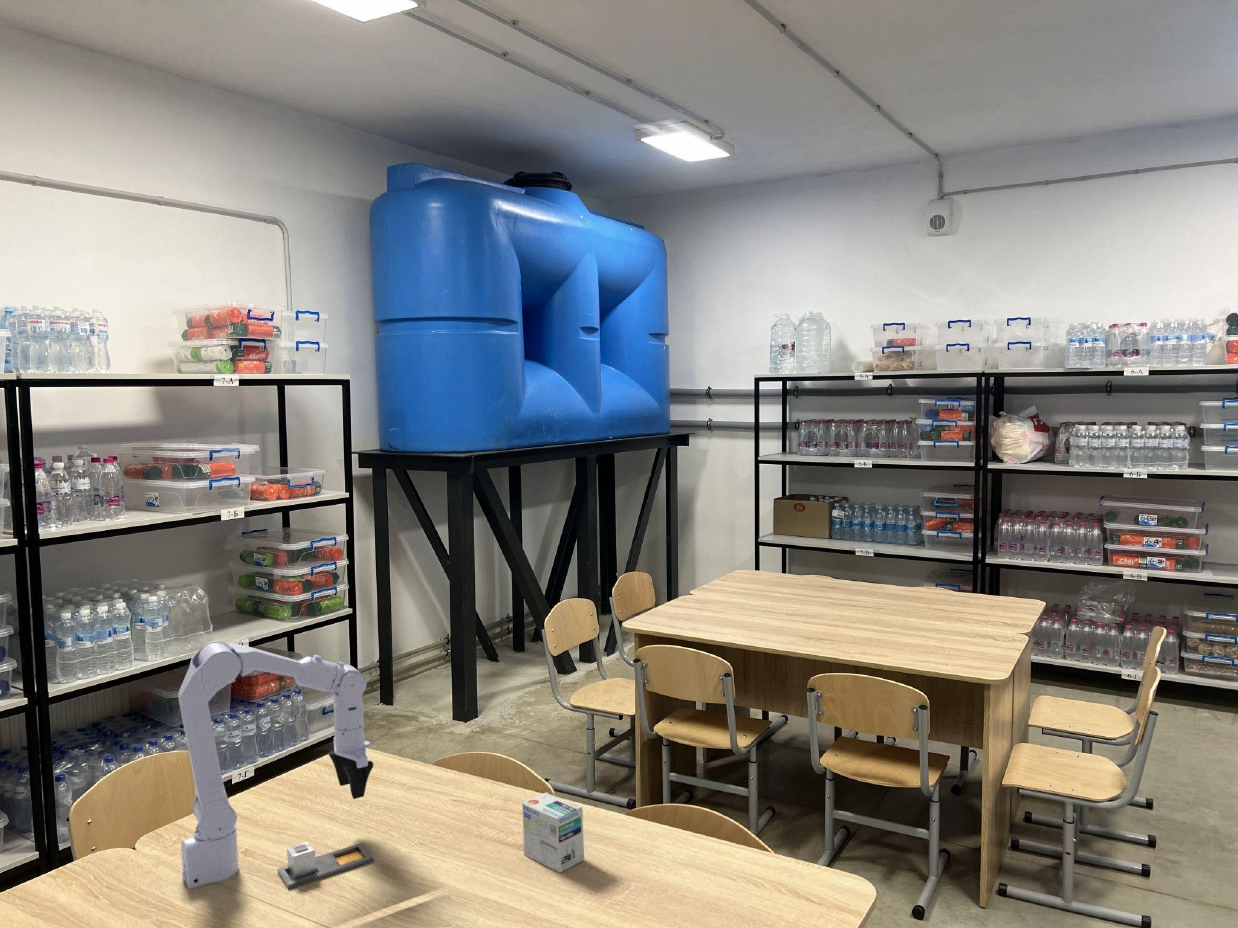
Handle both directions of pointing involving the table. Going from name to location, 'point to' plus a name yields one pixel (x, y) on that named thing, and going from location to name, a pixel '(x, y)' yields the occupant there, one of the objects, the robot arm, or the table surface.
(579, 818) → the light bulb box
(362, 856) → the dark gray slotted base
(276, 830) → the table surface
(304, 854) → the grey square block
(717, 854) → the table surface
